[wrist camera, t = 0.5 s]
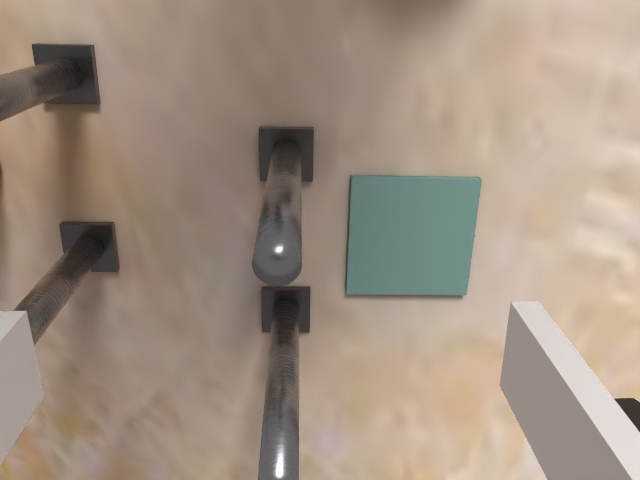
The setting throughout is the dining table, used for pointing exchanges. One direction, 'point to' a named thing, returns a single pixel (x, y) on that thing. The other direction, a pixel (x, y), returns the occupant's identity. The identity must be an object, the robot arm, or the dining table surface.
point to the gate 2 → (282, 291)
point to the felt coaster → (411, 234)
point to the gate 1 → (77, 237)
